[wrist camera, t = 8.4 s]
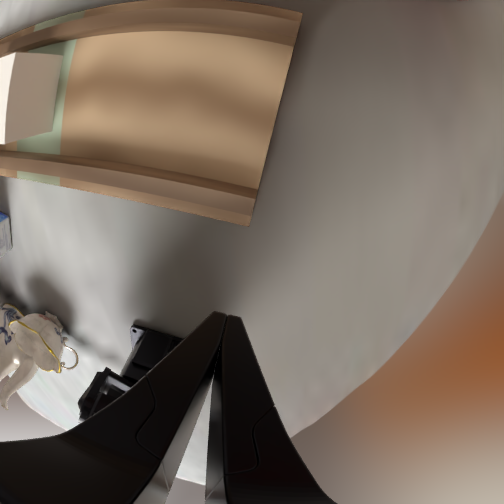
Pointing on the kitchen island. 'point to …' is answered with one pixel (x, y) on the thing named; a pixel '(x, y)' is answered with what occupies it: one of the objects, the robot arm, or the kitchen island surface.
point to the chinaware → (28, 347)
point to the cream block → (27, 94)
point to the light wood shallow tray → (160, 102)
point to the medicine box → (4, 235)
